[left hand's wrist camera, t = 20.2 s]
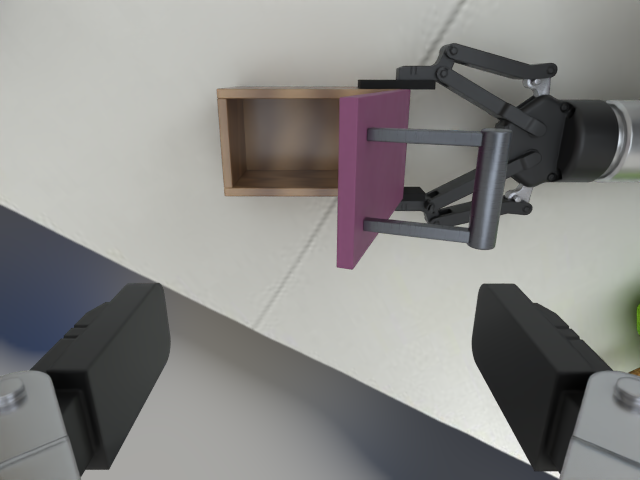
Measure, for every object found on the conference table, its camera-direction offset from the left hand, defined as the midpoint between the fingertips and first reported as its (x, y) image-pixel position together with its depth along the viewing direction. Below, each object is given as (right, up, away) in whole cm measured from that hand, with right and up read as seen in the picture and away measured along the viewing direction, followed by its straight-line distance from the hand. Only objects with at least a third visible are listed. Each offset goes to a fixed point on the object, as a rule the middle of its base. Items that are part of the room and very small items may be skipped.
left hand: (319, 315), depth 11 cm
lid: (+4, +7, +20) cm, 22 cm away
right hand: (+4, +11, +30) cm, 32 cm away
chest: (-1, +14, +36) cm, 39 cm away
